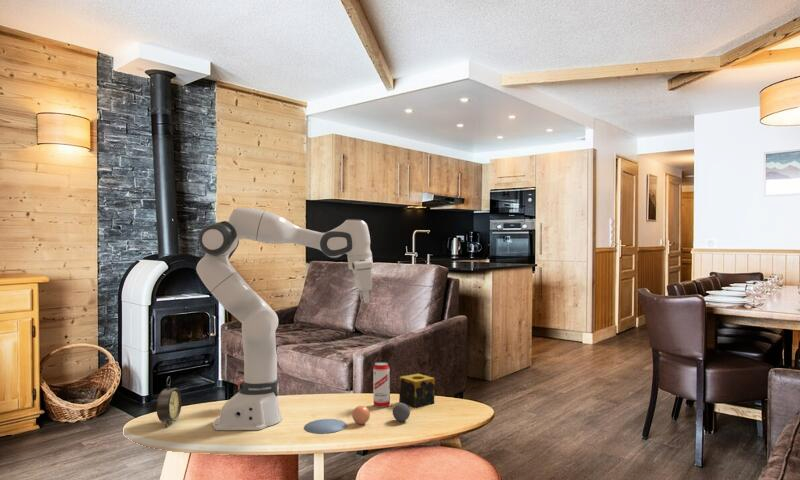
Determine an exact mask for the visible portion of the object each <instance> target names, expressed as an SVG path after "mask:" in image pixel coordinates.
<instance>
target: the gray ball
mask: <svg viewBox="0 0 800 480" xmlns="http://www.w3.org/2000/svg"><path fill="white" fill-rule="evenodd" d="M410 415H411V410H410V406H408V405H406V404H404V403H401V402H399V403H397V404H396V405H395V406H394V407H393V408H392V416H393V418H394V419H395V420H396V421H398V422H406V421H407V420H408V419H409V417H410Z"/></svg>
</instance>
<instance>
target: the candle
mask: <svg viewBox="0 0 800 480" xmlns="http://www.w3.org/2000/svg"><path fill="white" fill-rule="evenodd" d="M399 385H400V386H399V388H400V389H399V392H398V394H399V398H398V402H399V403H404V404H406V405H407V406H408V407H410V408H411V407H412V408H413V409H415V408H416V409H417V408H421V407H425V406H430V405H434V404H435V378H434V377H431V376H429V375H425V374H421V373H414V374H409V375H408V374H407V375H401V376H399ZM429 404H430V405H429Z"/></svg>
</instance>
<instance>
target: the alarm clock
mask: <svg viewBox="0 0 800 480" xmlns="http://www.w3.org/2000/svg"><path fill="white" fill-rule="evenodd" d="M168 380H169V381H168ZM168 382H169V384H168ZM171 382H172V381H171V376H168V377H167V378H166V386H167V388H164V389H162V391H160V393H159V395H158V396H157V401H156V416H157V418H158V419H159V421H160V422H161V424H163V423H165V427H164V428H166V429H168V425H169V423H170V422H176V421H177V420H178V419H179V417H180V414H181V412H182V411H181V410H182V394H181V391H180V389H179V388H177V387H173V388H171Z"/></svg>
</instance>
